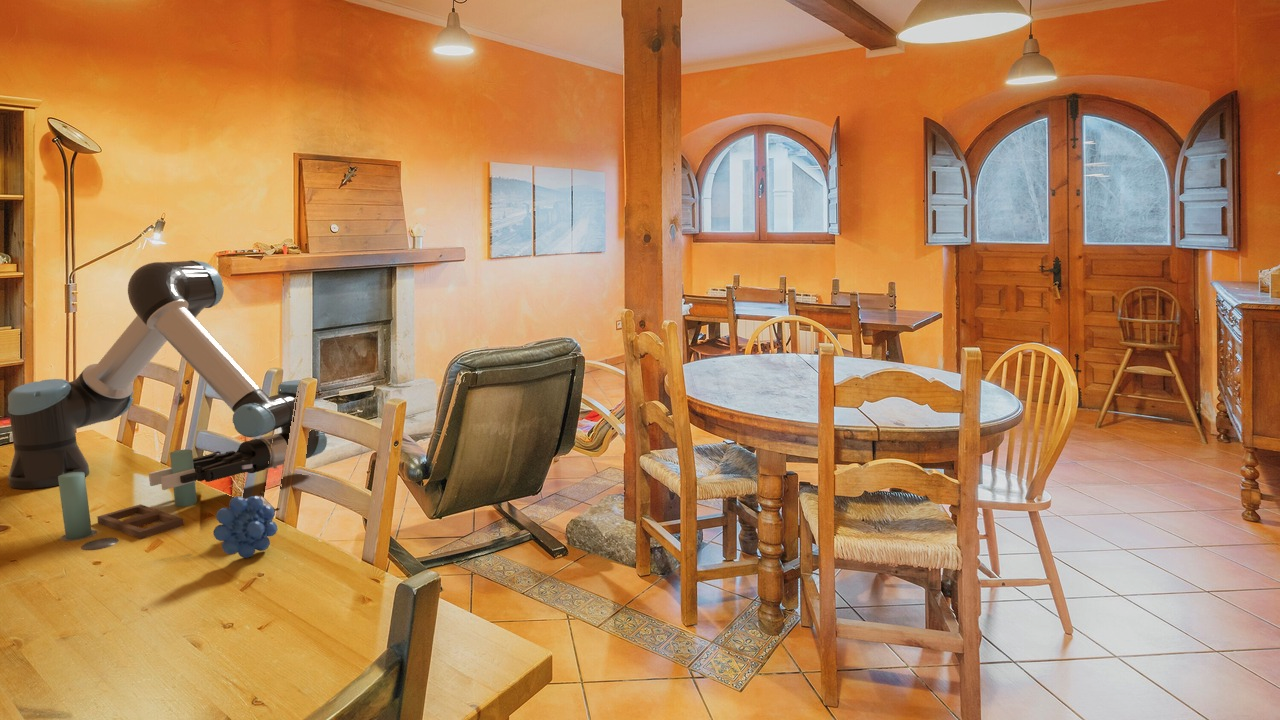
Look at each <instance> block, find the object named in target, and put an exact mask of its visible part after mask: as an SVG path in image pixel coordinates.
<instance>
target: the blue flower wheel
mask: <svg viewBox="0 0 1280 720" xmlns="http://www.w3.org/2000/svg"><path fill="white" fill-rule="evenodd" d="M258 496H259V495H250V496H249V497H247V498H248V499H247V501H246V500H245V499H246V498H245V497H243V496H234V497H232V498H231V499H230V501H229V503H228V504H229V507H222V508H220V509H219V510H218V511H217V512H216V520H217V522H218V523H219V524H218V525H216V526H215V527H214V529H213V537H214V538H215V539H216V540H217V541H220V542H222V544H221V548H222V550H223V552H224V553H225V554H227V555H235V554H237V553H238V556H240V557H241V558H243V559H248V558H249V557H250V558H251V557H253V556H254V554H255V553H256V551H259V552H261V551H263V552H264V551H266V550H268V549H269V547H270V544H271V541H270V540H271V539H270V538H269V537H273V536H274V535H276V534H277V532H278V525H277V523H276V522H275V521H273V519H274V517H275V515H276V511H274V509H275V508H274V509H273V508H272V507H271V506H269V505H266V506H263V500H262V499H261V498H260V497H258ZM270 520H272V521H270ZM250 558H249V559H250Z"/></svg>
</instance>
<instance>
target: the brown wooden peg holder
mask: <svg viewBox="0 0 1280 720" xmlns="http://www.w3.org/2000/svg"><path fill="white" fill-rule="evenodd" d="M136 514H138V516H133V515H136ZM129 516H133V517H131V518H128V519H124V520H120V519H123V518H127V517H129ZM96 518H97V524H100V525H102V526H105V527H108V528H111V529H113V530H115V531H119V532H121V533H123V534H126V535H129V536H131V537H134V538H136V539H139V540H142V539H145V538H149V537H151V536H154V535H157V534H160V533H164V532H167V531H170V530H174V529H176V528H179V527H183V526H184V525H185V524H184V518H183V517H179V516H177V515H173V514H171V513H168V512H165V511H161V510H159V509H156V508H153V507H150V506H147V505H144V504H141V503H140V504H136V505H133V506H129V507H126V508H123V509H122V508H121V509H119V510H115V511H112V512H108V513H105V514H101V515H98V516H96ZM156 522H160V523H158V524H155V525H151V526H148V527H146V528H141V527H143V526H146V525H149V524H153V523H156ZM161 522H162V523H161Z"/></svg>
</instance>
